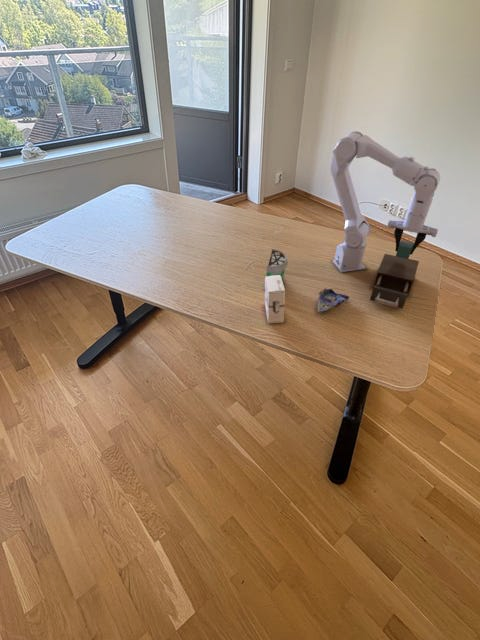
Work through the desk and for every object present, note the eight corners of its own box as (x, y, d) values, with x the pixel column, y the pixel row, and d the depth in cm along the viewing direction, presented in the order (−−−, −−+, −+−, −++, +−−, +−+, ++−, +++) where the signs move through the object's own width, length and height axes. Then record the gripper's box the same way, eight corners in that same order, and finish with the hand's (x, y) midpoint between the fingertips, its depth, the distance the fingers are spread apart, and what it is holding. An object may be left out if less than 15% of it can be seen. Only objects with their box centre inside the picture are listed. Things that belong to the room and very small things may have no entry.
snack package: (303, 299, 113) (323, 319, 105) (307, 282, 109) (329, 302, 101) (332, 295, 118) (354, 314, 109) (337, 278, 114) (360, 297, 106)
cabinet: (407, 297, 113) (413, 280, 108) (372, 288, 117) (377, 271, 112) (412, 277, 121) (419, 261, 117) (380, 269, 125) (384, 253, 121)
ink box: (263, 306, 110) (264, 275, 102) (279, 305, 110) (281, 274, 103) (267, 324, 104) (269, 292, 96) (283, 323, 104) (286, 291, 96)
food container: (283, 294, 115) (286, 269, 108) (265, 292, 116) (266, 267, 109) (287, 274, 124) (289, 249, 117) (270, 272, 125) (271, 248, 118)
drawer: (400, 317, 104) (405, 304, 101) (366, 308, 107) (370, 295, 104) (408, 288, 115) (412, 275, 112) (377, 280, 119) (381, 268, 115)
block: (408, 259, 114) (412, 248, 111) (395, 256, 115) (399, 245, 112) (409, 253, 116) (413, 242, 114) (397, 251, 118) (400, 240, 115)
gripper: (444, 211, 106) (428, 250, 115) (394, 203, 111) (383, 241, 120) (442, 220, 101) (426, 260, 110) (391, 211, 106) (379, 250, 115)
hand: (404, 251), depth 115 cm, fingers closed on block, 4 cm apart
